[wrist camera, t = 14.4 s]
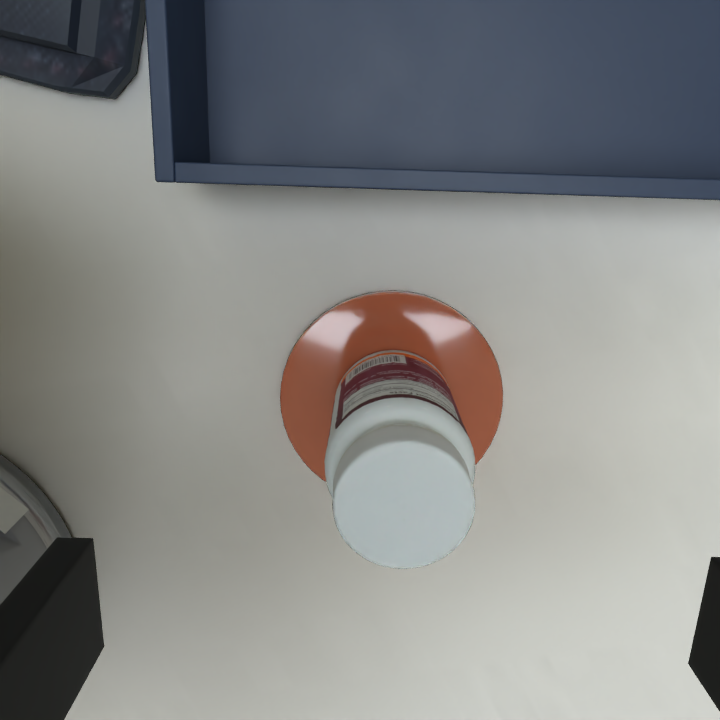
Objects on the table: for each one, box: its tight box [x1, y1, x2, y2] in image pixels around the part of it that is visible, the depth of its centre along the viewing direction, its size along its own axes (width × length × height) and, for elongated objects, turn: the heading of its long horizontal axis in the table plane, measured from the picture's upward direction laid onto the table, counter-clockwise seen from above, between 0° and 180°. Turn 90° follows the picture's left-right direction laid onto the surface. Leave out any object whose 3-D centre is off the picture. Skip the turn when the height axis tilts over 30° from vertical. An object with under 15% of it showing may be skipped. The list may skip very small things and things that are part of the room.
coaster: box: [280, 291, 503, 482], centre depth 26 cm, size 9×9×1 cm
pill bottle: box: [324, 350, 475, 569], centre depth 22 cm, size 5×5×8 cm
